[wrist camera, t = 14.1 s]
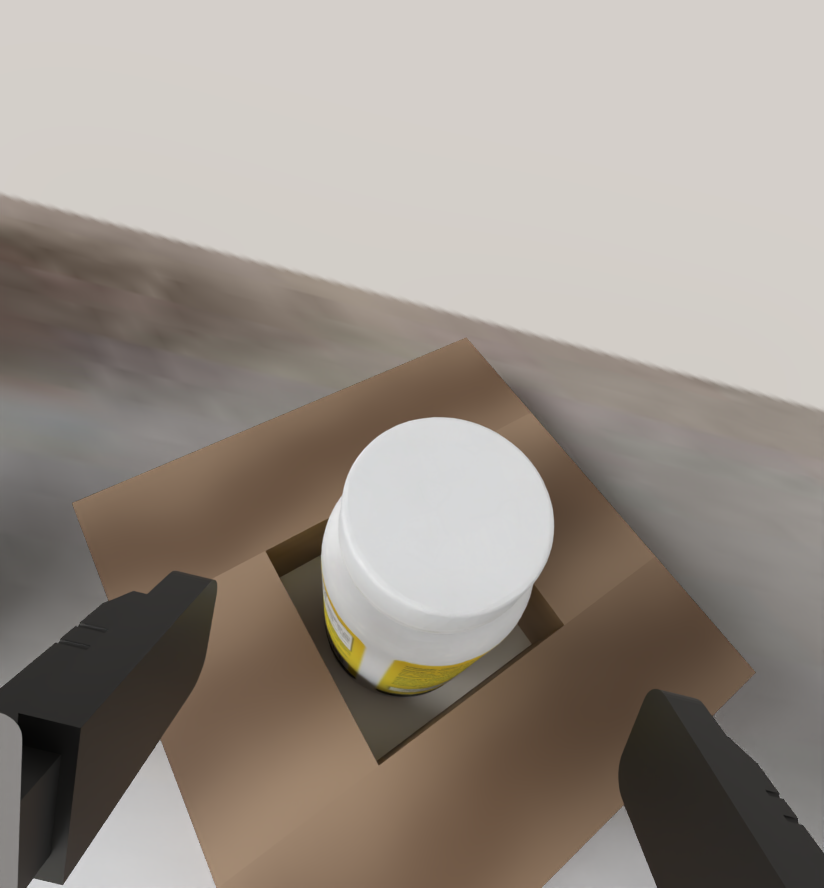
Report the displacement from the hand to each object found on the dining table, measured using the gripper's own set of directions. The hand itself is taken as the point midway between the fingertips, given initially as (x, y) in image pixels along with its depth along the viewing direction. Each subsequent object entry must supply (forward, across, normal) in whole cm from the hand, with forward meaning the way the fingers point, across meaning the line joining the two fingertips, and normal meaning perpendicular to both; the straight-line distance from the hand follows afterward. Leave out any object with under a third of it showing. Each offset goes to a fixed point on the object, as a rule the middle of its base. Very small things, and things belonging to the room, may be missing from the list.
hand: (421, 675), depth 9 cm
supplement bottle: (+9, 0, +5) cm, 10 cm away
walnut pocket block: (+10, 0, +4) cm, 11 cm away
